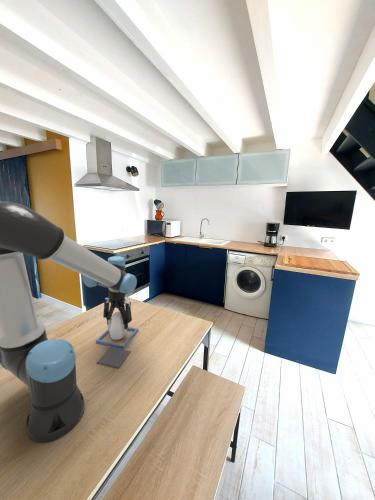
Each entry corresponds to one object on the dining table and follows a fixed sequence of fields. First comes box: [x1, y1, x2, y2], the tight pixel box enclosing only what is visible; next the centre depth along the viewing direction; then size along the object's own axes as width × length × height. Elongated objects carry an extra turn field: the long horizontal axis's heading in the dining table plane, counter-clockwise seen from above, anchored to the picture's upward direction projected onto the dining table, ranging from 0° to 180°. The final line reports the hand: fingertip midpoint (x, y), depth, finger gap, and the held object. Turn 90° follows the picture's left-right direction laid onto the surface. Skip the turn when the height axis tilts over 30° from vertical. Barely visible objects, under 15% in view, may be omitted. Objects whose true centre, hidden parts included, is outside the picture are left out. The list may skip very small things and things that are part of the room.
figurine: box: [109, 311, 124, 341], centre depth 102 cm, size 7×8×12 cm
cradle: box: [95, 326, 139, 350], centre depth 103 cm, size 14×14×2 cm
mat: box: [96, 346, 131, 369], centre depth 90 cm, size 10×10×1 cm
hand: (117, 332), depth 103 cm, fingers closed on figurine, 7 cm apart
